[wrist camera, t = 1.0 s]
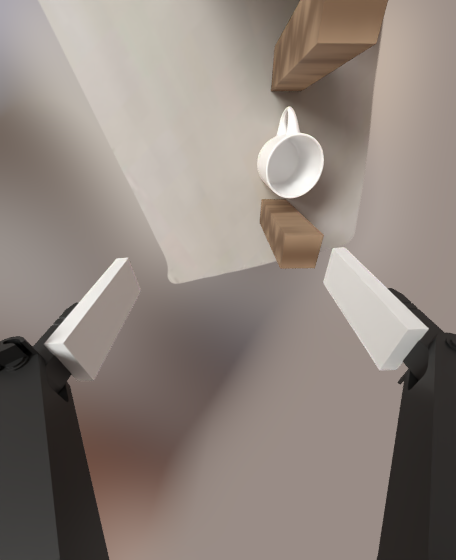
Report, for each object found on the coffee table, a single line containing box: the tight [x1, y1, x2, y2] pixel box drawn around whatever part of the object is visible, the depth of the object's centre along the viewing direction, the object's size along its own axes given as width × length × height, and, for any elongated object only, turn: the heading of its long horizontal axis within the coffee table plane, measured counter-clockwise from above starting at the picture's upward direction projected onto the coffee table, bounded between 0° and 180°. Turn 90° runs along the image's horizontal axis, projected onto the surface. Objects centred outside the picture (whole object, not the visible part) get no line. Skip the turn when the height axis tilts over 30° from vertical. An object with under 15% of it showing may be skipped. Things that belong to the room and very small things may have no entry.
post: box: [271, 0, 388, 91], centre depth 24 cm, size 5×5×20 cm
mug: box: [257, 106, 324, 198], centre depth 34 cm, size 9×12×11 cm
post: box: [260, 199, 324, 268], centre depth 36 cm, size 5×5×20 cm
